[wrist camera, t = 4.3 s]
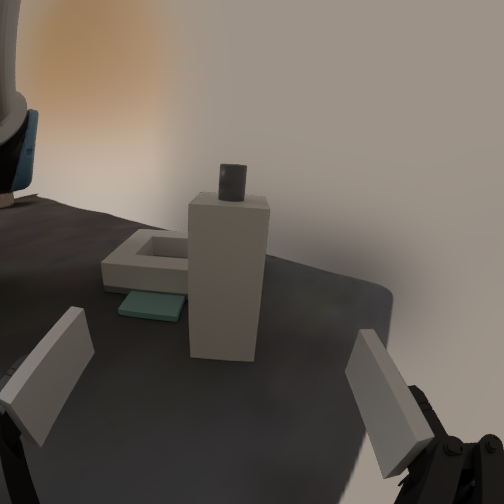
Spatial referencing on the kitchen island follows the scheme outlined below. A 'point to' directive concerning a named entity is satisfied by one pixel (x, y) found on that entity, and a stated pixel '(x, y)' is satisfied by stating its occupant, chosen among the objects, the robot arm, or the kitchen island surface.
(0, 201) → the teacup with lid
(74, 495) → the kitchen island surface
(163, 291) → the socket
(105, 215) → the kitchen island surface
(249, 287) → the plug
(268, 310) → the kitchen island surface
